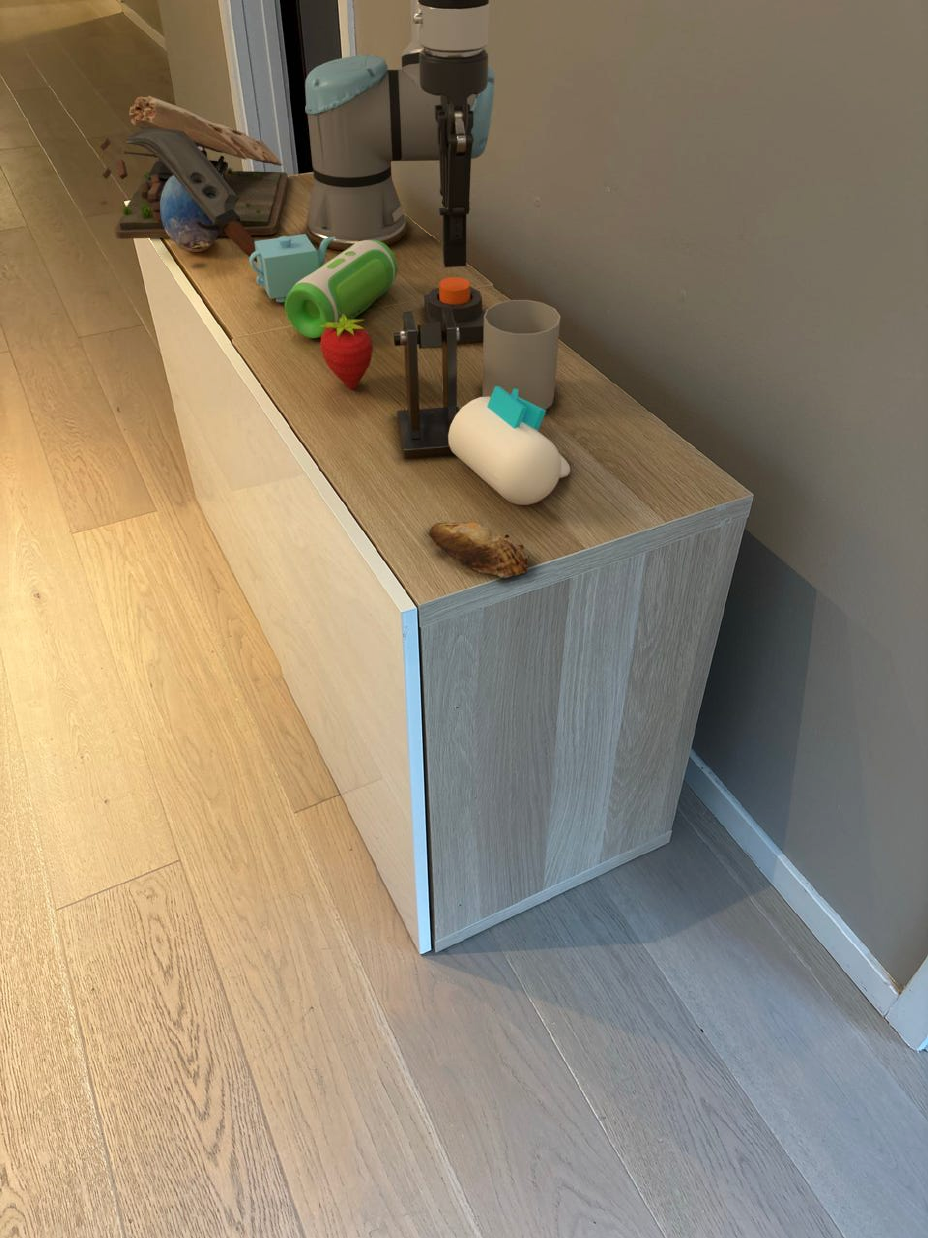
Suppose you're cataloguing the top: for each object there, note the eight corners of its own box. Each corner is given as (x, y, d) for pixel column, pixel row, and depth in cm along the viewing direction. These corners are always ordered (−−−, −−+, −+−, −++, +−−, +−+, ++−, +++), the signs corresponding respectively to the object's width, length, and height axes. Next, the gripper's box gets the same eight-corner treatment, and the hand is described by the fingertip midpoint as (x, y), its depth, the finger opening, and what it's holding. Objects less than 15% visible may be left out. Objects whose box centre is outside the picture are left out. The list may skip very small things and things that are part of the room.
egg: (242, 264, 138) (226, 177, 141) (200, 239, 130) (184, 147, 133) (198, 290, 141) (184, 204, 144) (155, 266, 134) (141, 176, 137)
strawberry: (333, 408, 108) (324, 327, 101) (319, 377, 113) (309, 297, 106) (382, 399, 109) (377, 319, 102) (366, 369, 114) (360, 290, 107)
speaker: (357, 283, 132) (353, 230, 126) (402, 294, 129) (399, 240, 124) (285, 335, 120) (277, 279, 115) (332, 348, 118) (326, 291, 113)
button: (437, 293, 121) (437, 277, 120) (467, 291, 122) (468, 276, 120) (441, 306, 118) (441, 291, 117) (472, 304, 119) (472, 289, 117)
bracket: (397, 419, 106) (391, 303, 96) (458, 415, 107) (458, 299, 97) (404, 459, 100) (398, 340, 91) (468, 454, 101) (469, 335, 91)
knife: (249, 292, 128) (119, 131, 131) (248, 301, 130) (120, 144, 133) (300, 265, 132) (172, 109, 134) (298, 275, 134) (173, 121, 136)
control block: (424, 309, 126) (423, 281, 123) (475, 306, 126) (475, 278, 124) (432, 345, 119) (432, 315, 116) (487, 341, 119) (487, 311, 117)
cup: (548, 419, 106) (554, 338, 99) (477, 411, 107) (478, 330, 100) (557, 382, 112) (564, 303, 105) (490, 375, 113) (492, 296, 106)
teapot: (333, 275, 133) (328, 222, 128) (345, 293, 129) (340, 238, 124) (250, 288, 130) (241, 234, 125) (260, 307, 126) (251, 251, 120)
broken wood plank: (267, 173, 164) (273, 142, 163) (307, 185, 157) (314, 153, 155) (113, 121, 144) (118, 86, 142) (151, 133, 137) (156, 96, 135)
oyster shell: (476, 492, 91) (541, 547, 86) (469, 523, 93) (533, 579, 88) (427, 504, 88) (492, 562, 82) (421, 536, 90) (484, 595, 85)
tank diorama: (288, 178, 161) (279, 110, 154) (275, 234, 143) (264, 161, 136) (126, 182, 160) (109, 114, 153) (92, 240, 143) (71, 166, 135)
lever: (394, 350, 107) (393, 328, 107) (446, 347, 108) (445, 325, 107) (402, 349, 94) (400, 324, 93) (461, 346, 94) (459, 321, 94)
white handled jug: (539, 430, 85) (468, 375, 93) (504, 516, 90) (439, 456, 97) (624, 439, 93) (552, 387, 100) (587, 518, 97) (521, 462, 105)
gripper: (413, 35, 105) (419, 245, 121) (425, 64, 95) (430, 287, 112) (478, 33, 105) (476, 242, 122) (497, 62, 96) (492, 284, 112)
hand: (454, 263), depth 117 cm, fingers closed
